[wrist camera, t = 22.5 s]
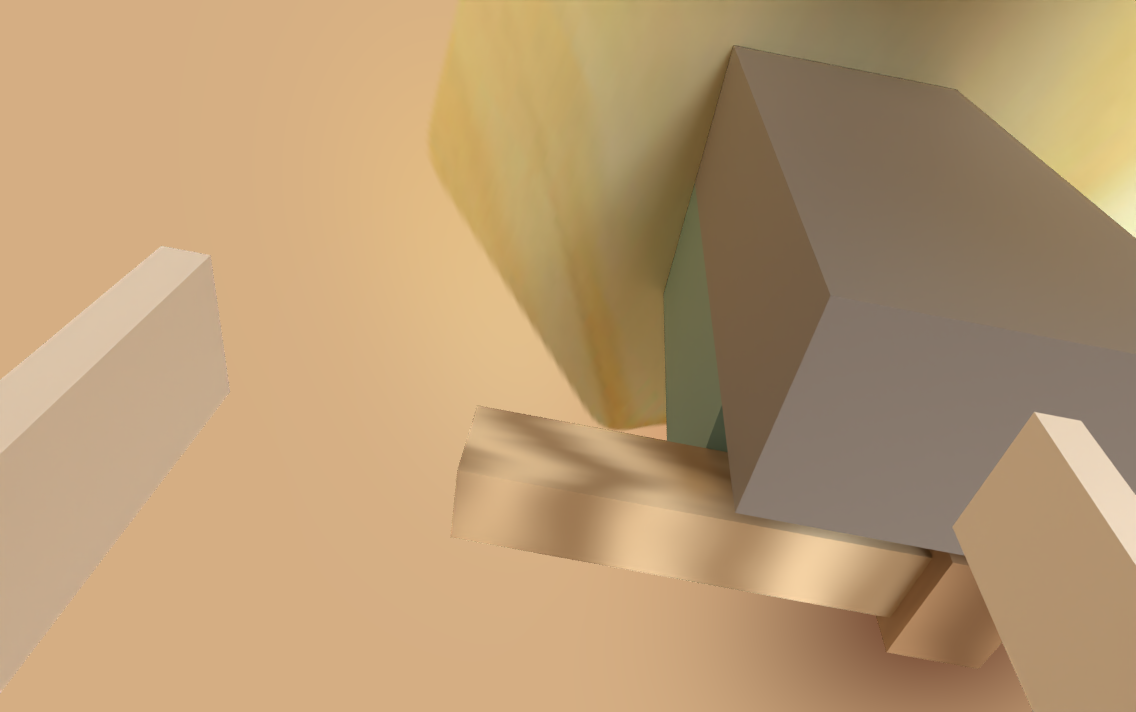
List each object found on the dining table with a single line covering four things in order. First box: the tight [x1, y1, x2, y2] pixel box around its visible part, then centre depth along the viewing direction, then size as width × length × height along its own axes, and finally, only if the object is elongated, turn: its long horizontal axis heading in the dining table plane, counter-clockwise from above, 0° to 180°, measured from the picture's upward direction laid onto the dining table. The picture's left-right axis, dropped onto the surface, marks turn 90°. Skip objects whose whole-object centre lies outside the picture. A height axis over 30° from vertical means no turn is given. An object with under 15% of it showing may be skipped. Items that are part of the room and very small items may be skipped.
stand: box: [664, 46, 1136, 556], centre depth 38 cm, size 14×18×30 cm
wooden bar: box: [451, 406, 1002, 669], centre depth 31 cm, size 23×6×5 cm, turn 81°
